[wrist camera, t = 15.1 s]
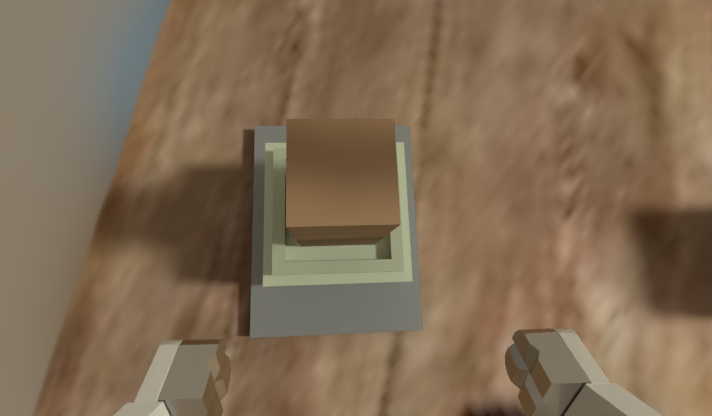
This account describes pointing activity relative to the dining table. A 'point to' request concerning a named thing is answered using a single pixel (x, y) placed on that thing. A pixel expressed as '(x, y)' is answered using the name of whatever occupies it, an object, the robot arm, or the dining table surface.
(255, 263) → the sage base block
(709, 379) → the dining table surface
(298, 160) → the walnut brick
